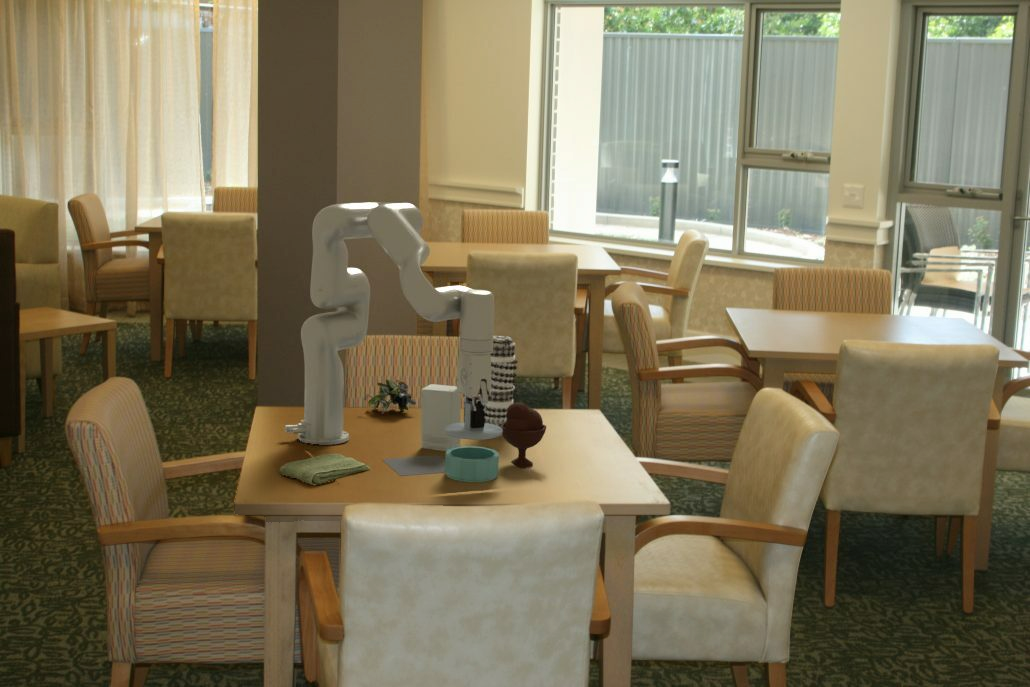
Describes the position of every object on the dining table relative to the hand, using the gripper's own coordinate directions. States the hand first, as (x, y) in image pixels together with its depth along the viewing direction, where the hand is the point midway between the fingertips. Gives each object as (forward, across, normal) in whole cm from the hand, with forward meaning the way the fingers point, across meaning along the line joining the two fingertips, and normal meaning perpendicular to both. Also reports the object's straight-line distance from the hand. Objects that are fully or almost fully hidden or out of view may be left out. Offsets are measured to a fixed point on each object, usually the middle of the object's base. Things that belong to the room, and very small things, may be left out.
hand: (474, 424), depth 285 cm
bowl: (+12, 0, 0) cm, 12 cm away
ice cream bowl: (+12, -6, +15) cm, 20 cm away
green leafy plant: (+12, -63, 0) cm, 64 cm away
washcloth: (+13, -12, -31) cm, 36 cm away
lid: (+2, 0, 0) cm, 2 cm away
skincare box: (+12, -24, +1) cm, 27 cm away
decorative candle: (+12, -36, +21) cm, 44 cm away
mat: (+12, -10, -9) cm, 18 cm away
